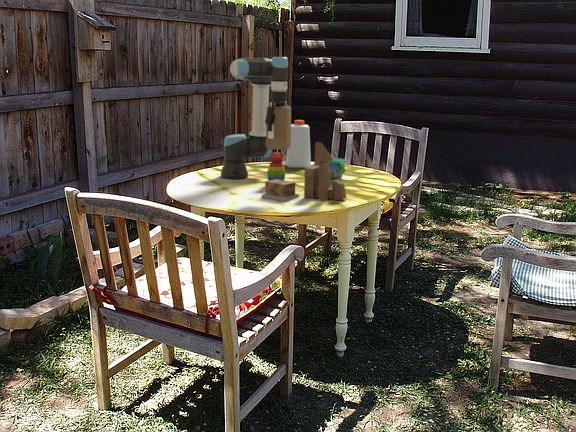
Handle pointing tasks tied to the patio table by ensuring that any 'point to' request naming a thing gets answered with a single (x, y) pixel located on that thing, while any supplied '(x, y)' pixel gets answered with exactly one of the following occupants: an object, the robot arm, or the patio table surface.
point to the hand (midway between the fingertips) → (278, 137)
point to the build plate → (279, 197)
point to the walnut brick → (280, 188)
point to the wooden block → (280, 129)
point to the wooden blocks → (322, 178)
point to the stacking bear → (276, 167)
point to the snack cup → (337, 167)
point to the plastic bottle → (299, 146)
